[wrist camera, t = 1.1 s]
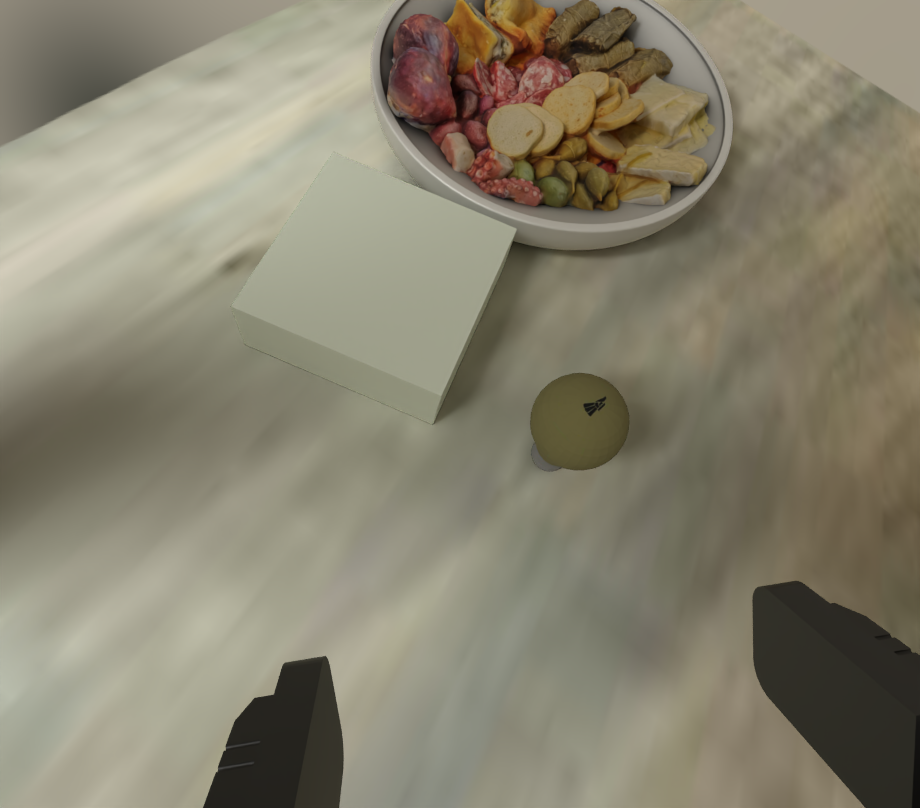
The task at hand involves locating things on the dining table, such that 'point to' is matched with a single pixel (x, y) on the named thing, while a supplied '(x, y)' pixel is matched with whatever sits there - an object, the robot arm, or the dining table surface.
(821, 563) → the dining table surface
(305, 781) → the robot arm
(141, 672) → the dining table surface
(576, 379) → the light bulb
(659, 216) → the bowl
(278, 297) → the block
